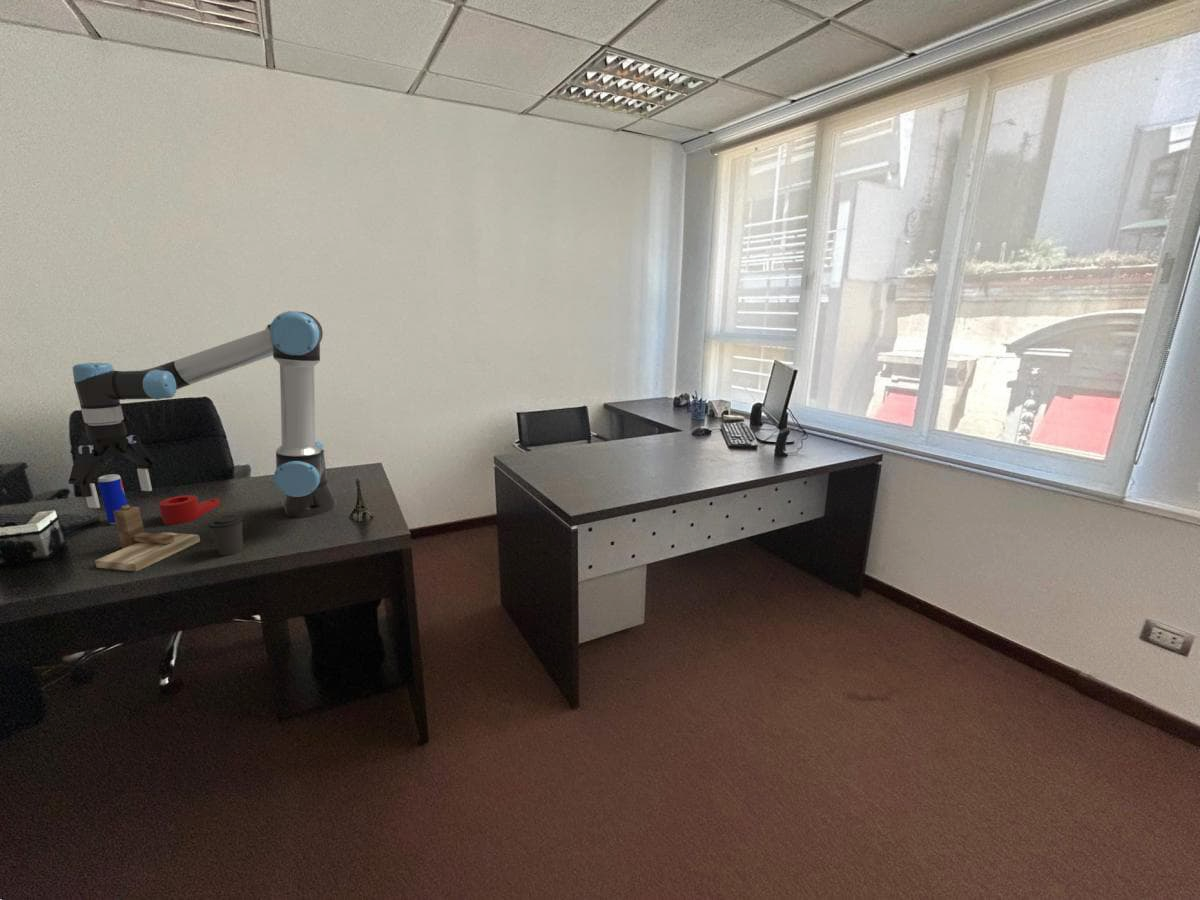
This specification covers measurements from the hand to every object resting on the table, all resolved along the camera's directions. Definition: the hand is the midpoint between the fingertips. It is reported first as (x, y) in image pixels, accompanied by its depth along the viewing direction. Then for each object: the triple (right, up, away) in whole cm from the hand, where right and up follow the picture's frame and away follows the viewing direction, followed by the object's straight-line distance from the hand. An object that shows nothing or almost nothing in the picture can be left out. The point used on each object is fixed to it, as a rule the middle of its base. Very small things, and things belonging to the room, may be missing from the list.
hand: (121, 498), depth 137 cm
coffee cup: (+28, -15, +3) cm, 32 cm away
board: (+8, -15, 0) cm, 17 cm away
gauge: (+5, -14, +3) cm, 15 cm away
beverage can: (-21, -10, +21) cm, 31 cm away
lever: (-3, -8, +28) cm, 29 cm away
